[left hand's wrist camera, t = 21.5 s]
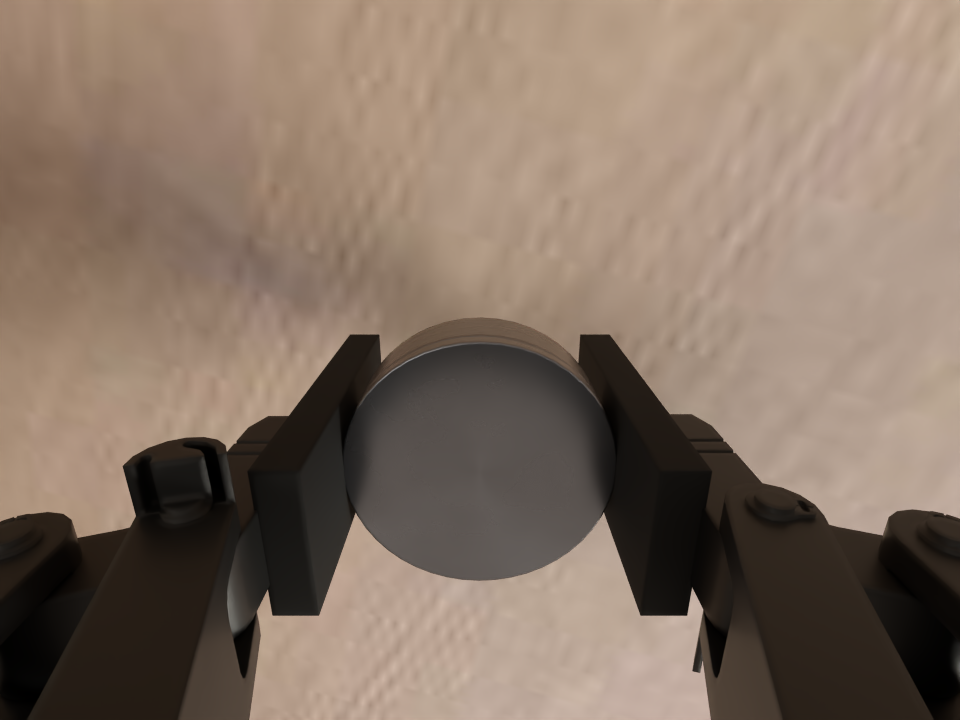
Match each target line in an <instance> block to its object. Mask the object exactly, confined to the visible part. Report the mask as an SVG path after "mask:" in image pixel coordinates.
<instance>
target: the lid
mask: <svg viewBox="0 0 960 720" xmlns="http://www.w3.org/2000/svg"><path fill="white" fill-rule="evenodd" d="M616 460H617V450H616V442H615V437H614V434H613V430H612V426H611V424H610V421H609V419H608V417H607V415H606V412H605V410H604V408H603V406H602V404H601V402H600V400H599V398H598V396H597V394H596V392H595V390H594V388H593V386H592V384H591V382H590V381H589V379H588V377H587V375H586V374H585V372H584V371H583V369H582V368H581V366H580V365H579V364H578V363H577V361H576V360H575V359H574V358H573V357H572V355H571V354H570V353H568V352H567V351H566V350H565V349H564V348H563V347H562V346H561V345H559V344H558V343H557V342H555V341H554V340H552V339H551V338H549V337H548V336H546V335H544V334H542V333H540V332H538V331H536V330H534V329H532V328H530V327H527V326H524V325H521V324H518V323H515V322H511V321H506V320H501V319H493V318H466V319H459V320H454V321H448V322H444V323H441V324H438V325H435V326H432V327H430V328H427V329H425V330H423V331H421V332H419V333H417V334H415V335H413V336H412V337H410V338H409V339H407V340H406V341H404V342H403V343H401V344H400V345H399V346H398V347H397V348H396V349H394V350H393V351H392V352H391V353H390V354H389V355H388V356H387V357H386V358H385V360H384V361H383V362H382V363H381V364H380V365H379V367H378V368H377V370H376V371H375V373H374V374H373V376H372V378H371V380H370V381H369V383H368V385H367V387H366V389H365V391H364V393H363V395H362V397H361V399H360V401H359V403H358V405H357V407H356V409H355V411H354V414H353V416H352V418H351V420H350V422H349V425H348V428H347V432H346V435H345V439H344V446H343V465H344V475H345V484H346V489H347V493H348V496H349V499H350V502H351V504H352V506H353V508H354V510H355V512H356V514H357V516H358V517H359V519H360V520H361V522H362V523H363V524H364V526H365V527H366V529H367V530H368V531H369V532H370V533H371V534H372V535H373V537H374V538H375V539H376V540H377V541H378V542H379V543H381V544H382V545H383V546H384V547H385V548H386V549H387V550H389V551H390V552H391V553H393V554H394V555H396V556H397V557H399V558H400V559H402V560H404V561H406V562H407V563H409V564H411V565H413V566H415V567H417V568H420V569H422V570H425V571H428V572H430V573H434V574H437V575H441V576H445V577H449V578H456V579H462V580H478V581H480V580H497V579H504V578H510V577H515V576H518V575H522V574H526V573H529V572H532V571H534V570H537V569H540V568H542V567H544V566H546V565H548V564H550V563H552V562H554V561H556V560H558V559H559V558H561V557H562V556H563V555H565V554H566V553H568V552H569V551H571V550H572V549H573V548H574V547H575V546H577V545H578V544H579V543H580V542H581V541H582V540H583V539H584V538H585V537H586V536H587V535H588V534H589V533H590V531H591V530H592V529H593V528H594V526H595V525H596V524H597V522H598V521H599V519H600V518H601V516H602V514H603V512H604V510H605V509H606V507H607V505H608V503H609V500H610V497H611V494H612V491H613V488H614V480H615V471H616Z"/></svg>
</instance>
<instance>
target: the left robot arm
mask: <svg viewBox="0 0 960 720" xmlns="http://www.w3.org/2000/svg"><path fill="white" fill-rule="evenodd" d="M380 364H381V353H380V339H379V335H350V336H349V337H348V338H347V340H346V341H345V342H344V344H343V345H342V346H341V348H340V349H339V350H338V352H337V353H336V354H335V355H334V357H333V358H332V359H331V361H330V362H329V363H328V365H327V366H326V367H325V369H324V370H323V371H322V373H321V374H320V375H319V377H318V378H317V379H316V381H315V382H314V383H313V385H312V386H311V387H310V389H309V390H308V391H307V393H306V394H305V395H304V397H303V398H302V399H301V401H300V402H299V403H298V405H297V406H296V407H295V408H294V410H293V411H292V412H291V414H290V415H289V416H268V417H266V418H264V419H262V420H261V421H259V422H257V423H256V424H254V425H252V426H250V427H249V428H248V429H247V430H246V431H245V432H244V433H243V434H242V435H241V437H240V438H239V439H238V440H237V443H236V444H234V445H233V446H232V447H231V448H230V449H229V450H228V451H226V446H225V445H224V444H223V443H221V442H220V441H219V440H216V439H211V438H206V437H193V438H183V439H177V440H172V441H167V442H164V443H161V444H158V445H156V446H153V447H150V448H147V449H146V450H144V451H142V452H140V453H138V454H137V455H135V456H133V457H132V458H131V459H130V460H129V461H128V462H127V463H126V464H124V465H123V469H124V473H125V477H126V480H127V484H128V488H129V491H130V495H131V499H132V503H133V506H134V510H135V514H136V517H135V519H134V521H133V523H132V525H131V527H130V528H126V529H122V530H117V531H112V532H107V533H102V534H96V535H91V536H86V537H81V538H77V535H76V532H75V529H74V526H73V523H72V520H71V519H70V518H68V517H67V516H65V515H64V514H60V513H51V512H45V513H37V514H25V515H21V516H17V518H14V517H13V518H10V519H6V520H3V521H1V522H0V720H249V717H250V710H251V702H252V695H253V688H254V681H255V673H256V666H257V659H258V651H259V644H260V637H261V634H260V627H259V621H258V615H257V610H258V608H259V606H260V604H261V602H262V600H263V598H264V596H265V594H266V592H267V590H268V592H269V598H270V604H271V609H272V615H273V616H319V614H320V611H321V608H322V606H323V603H324V600H325V597H326V594H327V592H328V589H329V586H330V583H331V580H332V577H333V575H334V572H335V569H336V566H337V563H338V561H339V558H340V555H341V552H342V549H343V547H344V544H345V541H346V538H347V535H348V532H349V530H350V527H351V524H352V521H353V518H354V516H355V513H356V512H355V510H354V508H353V506H352V504H351V502H350V499H349V496H348V493H347V489H346V484H345V475H344V465H343V446H344V439H345V435H346V432H347V428H348V425H349V422H350V420H351V418H352V416H353V414H354V411H355V409H356V407H357V405H358V403H359V401H360V399H361V397H362V395H363V393H364V391H365V389H366V387H367V385H368V383H369V381H370V380H371V378H372V376H373V374H374V373H375V371H376V370H377V368H378V367H379V365H380ZM578 364H579V365H580V366H581V368H582V369H583V371H584V372H585V374H586V375H587V377H588V379H589V381H590V382H591V384H592V386H593V388H594V390H595V392H596V394H597V396H598V398H599V400H600V402H601V404H602V406H603V408H604V410H605V412H606V415H607V417H608V419H609V421H610V424H611V426H612V430H613V434H614V437H615V442H616V450H617V460H616V471H615V480H614V488H613V491H612V494H611V497H610V500H609V503H608V505H607V507H606V509H605V510H604V514H605V516H606V519H607V522H608V525H609V528H610V531H611V533H612V536H613V539H614V542H615V545H616V547H617V550H618V553H619V556H620V559H621V562H622V564H623V567H624V570H625V573H626V576H627V578H628V581H629V584H630V587H631V590H632V593H633V595H634V598H635V601H636V604H637V607H638V609H639V612H640V615H641V616H687V613H688V607H689V602H690V596H691V590H692V588H693V590H694V592H695V594H696V596H697V598H698V600H699V602H700V604H701V606H702V608H703V615H702V621H701V626H700V631H699V637H698V642H697V647H696V652H695V658H694V664H693V671H694V672H698V673H700V671H701V665H702V661H703V665H704V672H705V679H706V687H707V694H708V701H709V708H710V716H711V720H960V519H959V518H956V517H953V516H950V515H947V514H946V515H944V514H943V513H938V512H933V511H930V512H929V511H921V510H904V511H897V512H895V513H894V514H893V515H891V516H890V517H889V518H888V521H887V525H886V528H885V531H884V534H883V536H882V535H877V534H872V533H866V532H861V531H856V530H850V529H845V528H840V527H836V526H832V525H829V524H828V522H827V520H826V518H825V516H824V515H823V514H822V513H821V511H820V510H819V509H818V508H817V507H816V506H815V505H814V504H813V503H811V502H810V501H808V500H807V499H805V498H804V497H802V496H801V495H799V494H796V493H794V492H791V491H789V490H786V489H784V488H781V487H777V486H772V485H768V484H763V483H762V482H761V481H760V480H759V479H758V478H757V477H756V476H755V474H754V473H753V472H752V471H751V470H750V469H749V468H748V467H747V465H746V464H745V463H744V462H743V461H742V460H741V459H740V457H739V456H738V455H737V454H736V453H733V449H732V448H731V447H730V446H729V445H728V444H727V443H726V442H723V438H722V437H721V436H720V435H719V434H718V432H717V431H716V430H715V429H714V428H713V427H712V426H711V425H709V424H708V423H706V422H704V421H702V420H701V419H699V418H697V417H695V416H694V415H692V414H669V413H668V412H667V410H666V409H665V408H664V406H663V405H662V404H661V402H660V401H659V400H658V398H657V397H656V396H655V394H654V393H653V392H652V390H651V389H650V388H649V386H648V385H647V384H646V382H645V381H644V380H643V378H642V377H641V376H640V375H639V373H638V372H637V371H636V369H635V368H634V367H633V365H632V364H631V363H630V361H629V360H628V359H627V357H626V356H625V355H624V353H623V352H622V351H621V349H620V348H619V347H618V345H617V344H616V343H615V341H614V340H613V339H612V337H611V336H610V335H580V349H579V363H578Z"/></svg>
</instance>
